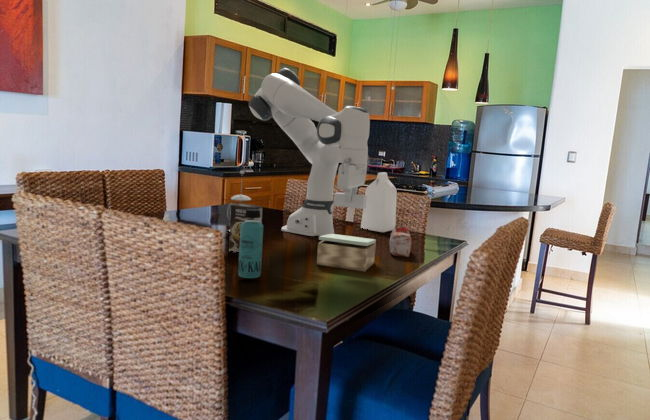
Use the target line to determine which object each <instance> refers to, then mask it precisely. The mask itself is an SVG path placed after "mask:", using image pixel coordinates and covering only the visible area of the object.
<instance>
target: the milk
mask: <svg viewBox="0 0 650 420" xmlns="http://www.w3.org/2000/svg"><path fill="white" fill-rule="evenodd" d="M397 193H398V192H397V188H396V186H395V185H394V184H393V183H392V182H391V180H390V179H389V177H388V173H387V172H384V171H383V172H378V173H377V177H376V179H374V181H371V183H369V185H367V187H366V188H365V192H364V195H366V196H367V202H366V208H365V209H362V214H361V222H360V229H362V228H363V230H367V229H368V230H367V231H374V232H379V233H386V232H390V231H392V230H393V229H395V227H396V219H397V218H396V217H397V199H398V198H397Z"/></svg>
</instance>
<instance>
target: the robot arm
mask: <svg viewBox="0 0 650 420" xmlns="http://www.w3.org/2000/svg"><path fill="white" fill-rule="evenodd" d="M248 108H249V109H250V111H251V113H252V115H253V116H254V117H255V118H257V119H259V120H261V121H269V120H270V119H272V118H273V120H274V121H275V122H276V123H277V125H278V126H279V127H280V129H281V130H282V131H283V132H284V133H285V134H286V135H287V136H288V137H289V138H290V140H292V141H293V143H294V144H295V146H296V147H297V148H298V149H299V151H300V152H301V154H302V155H303V156H304V157H305V159H306V160H307V161H308V163H310V164H311V168H310V172H309V177H308V179H307V185H306V186H307V188H306V198H304V199H302V200H301V201H300V204H302V205H301V207H300V208H299V209H297V210H296V211H294V212H292V213H291V214H290V215H289V216H288V219H287V221H286V225H284V226H282V227H281V229H280V231H281V232H286V233H293V234H297V235H298V234H299V235H301V236H302V235H303V236H308V237H309V236H310V237H315V236H316V237H317V236H318V237H319V236H323V235H327V234H335V230H334V224H333V213H334V207H335V206H334V189H335V188H334V186H335V180H336V179H335V178H336V175H337V180H336V188H337V189H338V190H343V193H345V202H351V201H352V197H351V194H357V192H358V189H359V188H358V187H362V186H364V185H365V183H366V178H367V172H368V164H370V157H369V154H368V153H369V147H368V140H369V137H370V127H371V126H370V125H371V120H370V119H371V118H370V113H369V111H368V110H367V109H365V108H364V107H359V106H354V105H345V107H344V108H343V109H342V110H339V111H337V110H336V109H334V108H332V107H331V106H330V105H328V104H326V103H324V102H323V101H321V100H320V99H319V98H317V97H315V96H314V95H313V94H311V93H310V92H308V91H307V90H306V89H304V88H303V87H302V86H301V81H300V79H299V77H298V75H297V74H296V73H295V72H294V71H293V70H291V69H289V68H287V67H282V68H281V69H279V70H278V71H276V72H275V73H273V72H272V73H270V74H267V75H266V76H265V77H264V78H263V80H262V81H261V85H260V88H259V89H258V90H257V91H256V92H255V94H254V95H252V96H251V98H250V99H249V101H248ZM313 121H315V122H318V124H317V127H316V125H315V123H314V122H313ZM339 163H340V165H339ZM337 171H338V172H337Z"/></svg>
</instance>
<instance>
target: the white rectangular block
mask: <svg viewBox="0 0 650 420" xmlns="http://www.w3.org/2000/svg"><path fill="white" fill-rule="evenodd" d="M351 197H352V201H351V202H345V193H344V192H335V193H334V192H333V201H334V207H342V208H343V207H344V208H351V209H361V210H363V209H365V208H366V202H367V196H366V195H365V194H364V195H363V194H357V193H356V194H351Z"/></svg>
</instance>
